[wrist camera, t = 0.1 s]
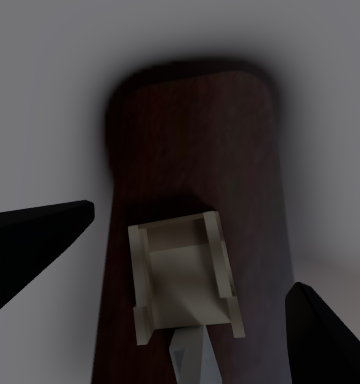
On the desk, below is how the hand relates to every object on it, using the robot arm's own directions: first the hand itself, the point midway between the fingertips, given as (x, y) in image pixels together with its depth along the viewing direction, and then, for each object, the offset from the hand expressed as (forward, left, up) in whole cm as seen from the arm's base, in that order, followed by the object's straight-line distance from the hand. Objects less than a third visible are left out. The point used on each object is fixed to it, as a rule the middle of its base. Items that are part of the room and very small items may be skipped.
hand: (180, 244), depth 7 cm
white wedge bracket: (-14, +3, -15) cm, 21 cm away
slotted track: (-4, +3, -15) cm, 16 cm away
